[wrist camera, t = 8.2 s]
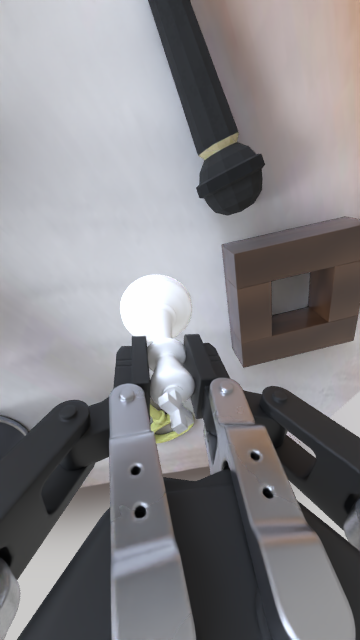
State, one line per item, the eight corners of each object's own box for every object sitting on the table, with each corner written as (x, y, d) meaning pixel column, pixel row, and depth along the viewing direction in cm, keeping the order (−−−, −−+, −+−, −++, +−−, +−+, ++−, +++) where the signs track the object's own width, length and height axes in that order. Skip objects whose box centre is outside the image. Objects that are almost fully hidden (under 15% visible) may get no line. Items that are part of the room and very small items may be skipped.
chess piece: (151, 349, 20) (166, 485, 11) (104, 304, 17) (77, 431, 9) (204, 311, 19) (267, 426, 10) (162, 259, 16) (198, 348, 8)
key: (130, 380, 33) (130, 392, 32) (199, 415, 38) (202, 427, 37) (99, 414, 35) (97, 427, 34) (168, 443, 41) (170, 455, 39)
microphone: (108, -53, 18) (214, 219, 26) (61, -134, 13) (208, 230, 21) (175, -123, 16) (269, 194, 24) (149, -250, 11) (277, 199, 19)
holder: (331, 324, 34) (353, 340, 30) (232, 348, 33) (243, 367, 30) (345, 216, 27) (375, 221, 24) (221, 244, 27) (234, 254, 23)
